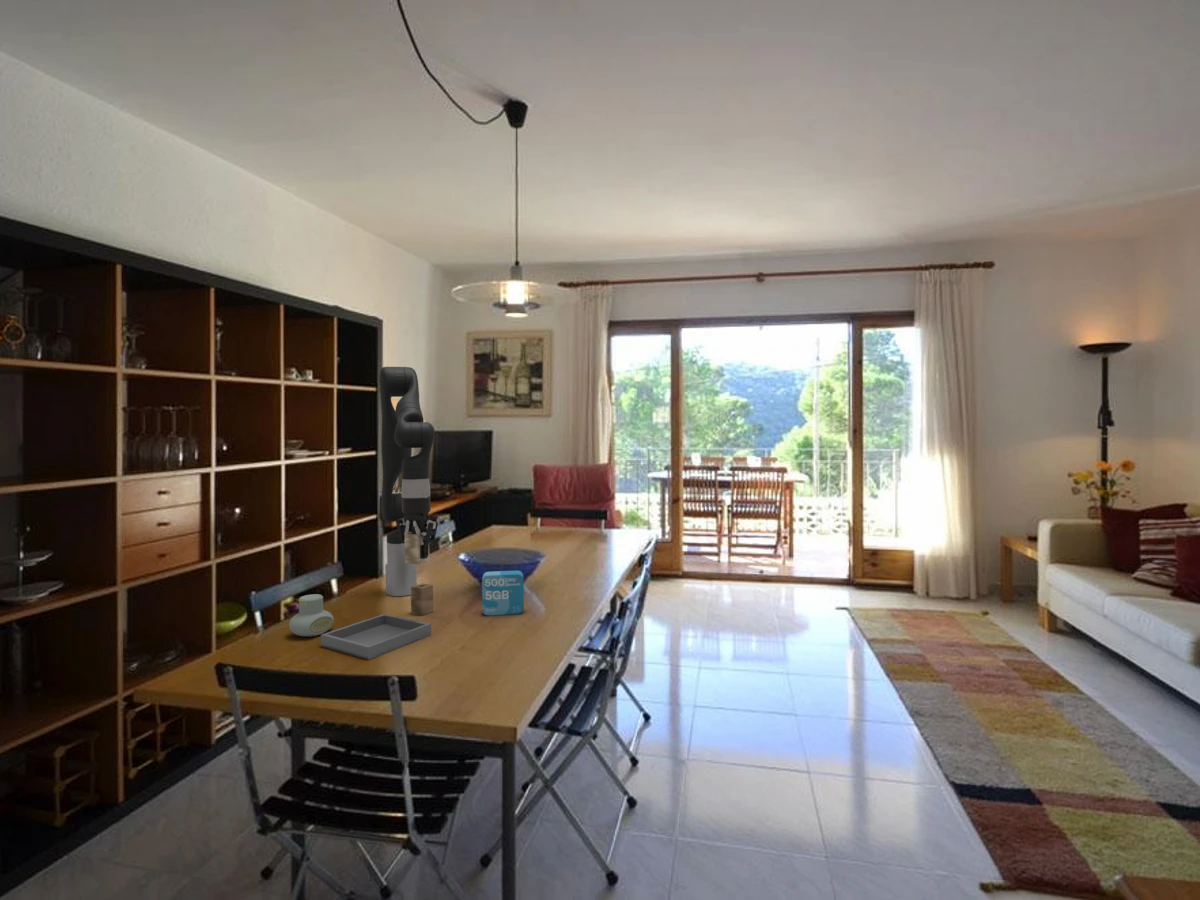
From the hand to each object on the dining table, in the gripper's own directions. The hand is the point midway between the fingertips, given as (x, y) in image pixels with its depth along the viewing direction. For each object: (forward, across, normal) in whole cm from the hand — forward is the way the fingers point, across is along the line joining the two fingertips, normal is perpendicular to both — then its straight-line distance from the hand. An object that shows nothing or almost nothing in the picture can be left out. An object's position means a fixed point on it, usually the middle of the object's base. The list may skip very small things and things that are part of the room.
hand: (417, 557), depth 172 cm
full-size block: (+20, -10, +11) cm, 24 cm away
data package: (+20, +12, +22) cm, 32 cm away
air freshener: (+20, -22, -17) cm, 34 cm away
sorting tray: (+20, -2, -12) cm, 23 cm away
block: (+1, 0, 0) cm, 1 cm away
